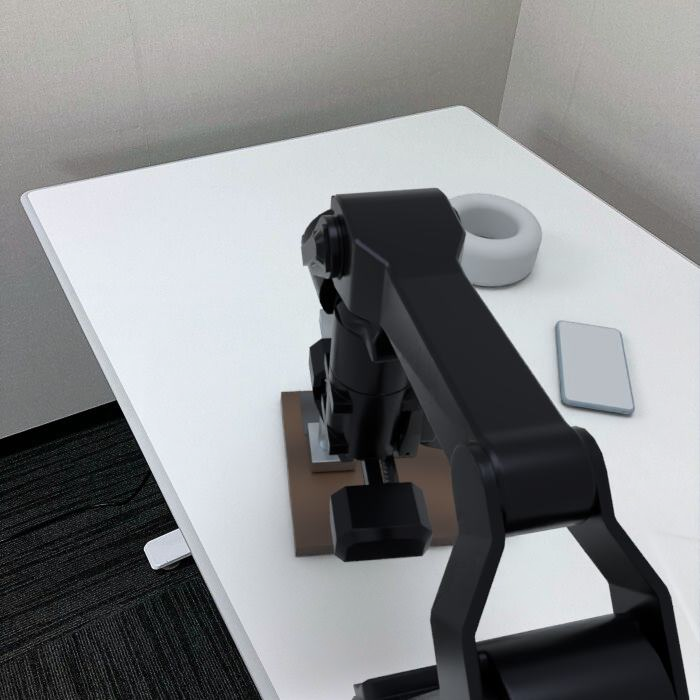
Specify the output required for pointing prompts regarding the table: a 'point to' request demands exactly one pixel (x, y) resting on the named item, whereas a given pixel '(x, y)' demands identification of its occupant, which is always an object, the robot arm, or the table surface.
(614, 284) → the table surface
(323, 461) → the tap
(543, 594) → the table surface
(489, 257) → the donut shape
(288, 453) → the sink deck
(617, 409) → the smartphone
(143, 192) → the table surface
